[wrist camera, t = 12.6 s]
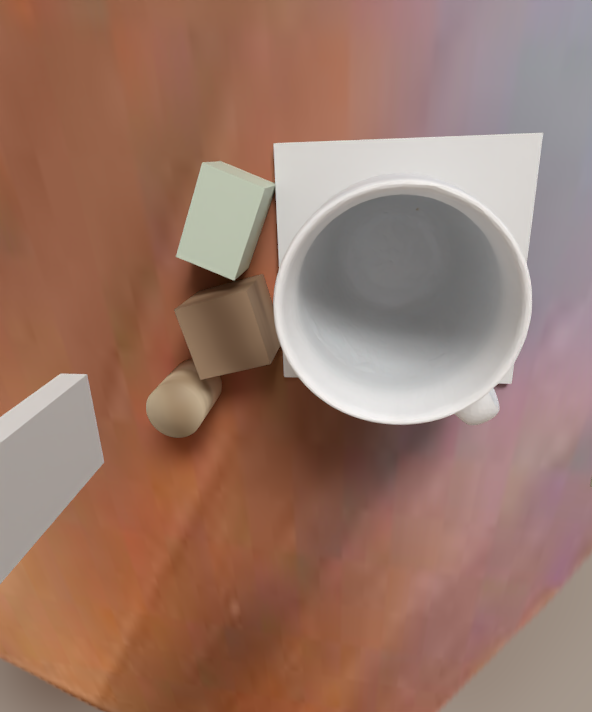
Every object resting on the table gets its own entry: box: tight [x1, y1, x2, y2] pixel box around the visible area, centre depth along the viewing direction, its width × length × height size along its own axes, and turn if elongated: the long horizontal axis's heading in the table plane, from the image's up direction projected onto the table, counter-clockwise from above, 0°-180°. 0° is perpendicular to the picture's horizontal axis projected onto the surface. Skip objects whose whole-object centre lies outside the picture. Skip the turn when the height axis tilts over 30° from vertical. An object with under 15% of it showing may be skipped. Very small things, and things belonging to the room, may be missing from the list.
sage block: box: [176, 161, 276, 280], centre depth 34 cm, size 4×6×4 cm, turn 159°
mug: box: [273, 172, 532, 425], centre depth 29 cm, size 15×11×13 cm
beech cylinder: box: [146, 359, 222, 438], centre depth 38 cm, size 4×4×5 cm
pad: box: [274, 133, 543, 384], centre depth 35 cm, size 16×16×1 cm
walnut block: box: [174, 274, 280, 380], centre depth 36 cm, size 5×5×5 cm
